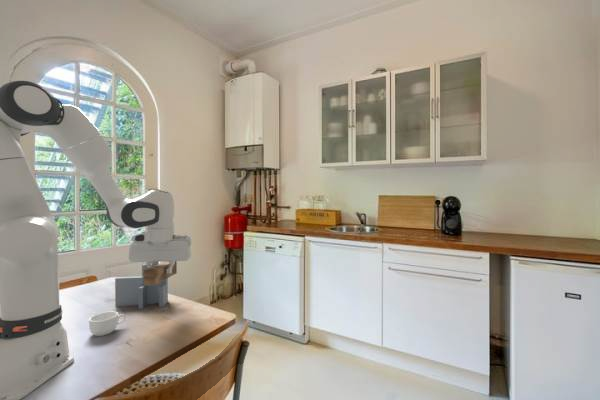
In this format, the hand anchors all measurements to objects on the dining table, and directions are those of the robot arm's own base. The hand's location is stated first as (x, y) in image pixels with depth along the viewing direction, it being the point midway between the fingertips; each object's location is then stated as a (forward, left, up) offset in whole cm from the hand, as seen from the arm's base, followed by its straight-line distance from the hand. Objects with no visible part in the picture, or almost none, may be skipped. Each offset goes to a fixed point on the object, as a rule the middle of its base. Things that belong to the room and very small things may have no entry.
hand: (160, 273), depth 102 cm
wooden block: (0, 0, -2) cm, 2 cm away
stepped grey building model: (+12, +11, -16) cm, 23 cm away
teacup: (-9, +13, -16) cm, 23 cm away
